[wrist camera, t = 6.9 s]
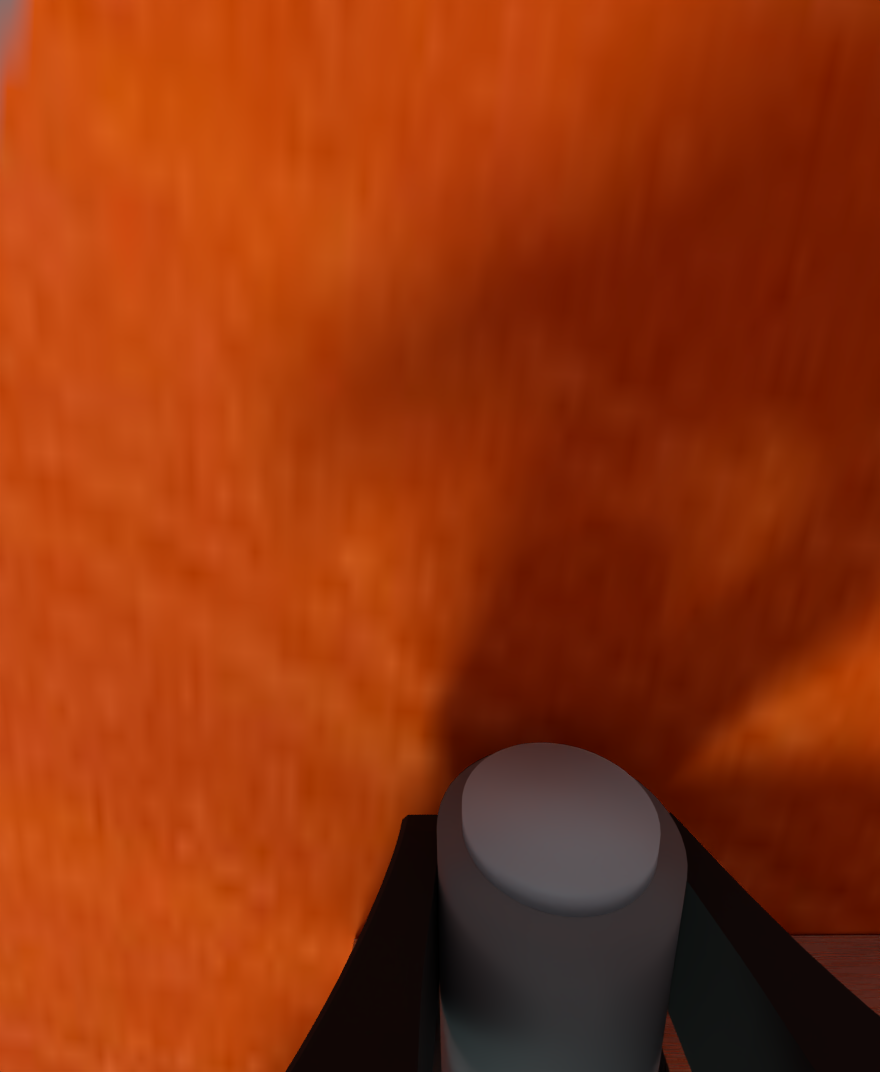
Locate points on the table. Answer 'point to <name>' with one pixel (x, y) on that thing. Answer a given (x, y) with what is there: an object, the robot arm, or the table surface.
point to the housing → (855, 960)
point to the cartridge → (555, 914)
